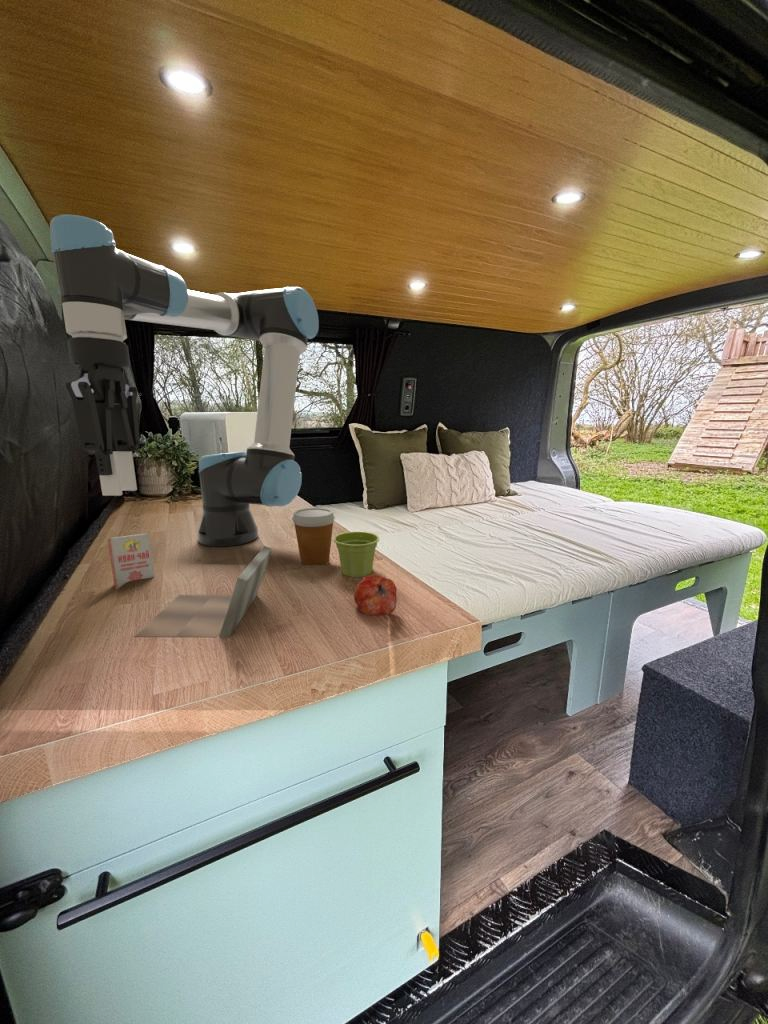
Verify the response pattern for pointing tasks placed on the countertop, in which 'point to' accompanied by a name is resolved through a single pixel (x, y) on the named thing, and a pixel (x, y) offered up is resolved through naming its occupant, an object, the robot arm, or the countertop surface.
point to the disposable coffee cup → (314, 534)
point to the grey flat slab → (245, 591)
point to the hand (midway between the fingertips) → (120, 492)
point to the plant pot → (356, 552)
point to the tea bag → (130, 558)
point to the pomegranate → (375, 595)
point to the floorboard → (189, 617)
